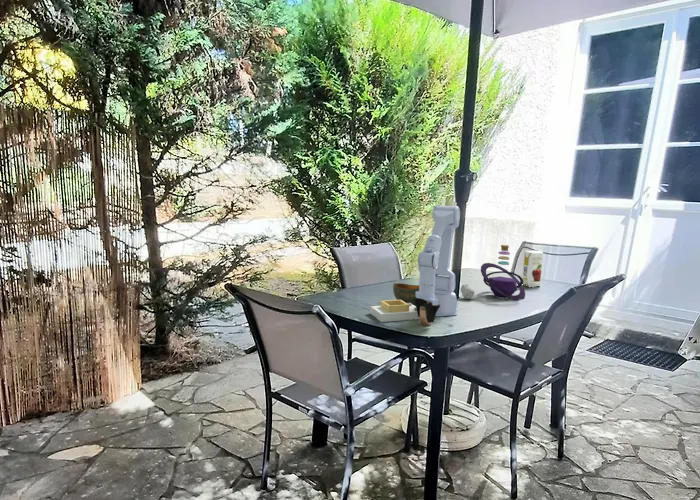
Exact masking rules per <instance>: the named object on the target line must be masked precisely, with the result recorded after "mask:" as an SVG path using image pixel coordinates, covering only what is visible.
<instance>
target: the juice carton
mask: <svg viewBox="0 0 700 500" xmlns="http://www.w3.org/2000/svg"><path fill="white" fill-rule="evenodd" d="M543 258H544V251H540V250H524V254H523V265H522V276H521V278H522V279H523V285H527V286H540V287H541V285H542V273H543ZM523 285H522V286H523Z"/></svg>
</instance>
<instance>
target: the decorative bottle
mask: <svg viewBox="0 0 700 500" xmlns="http://www.w3.org/2000/svg"><path fill="white" fill-rule="evenodd" d="M500 247H501V248H500V250H501V251H498V254H499V255H502V256H498V257H497V259H498V260H500V261H498V262H497V264H498V265H497V264H496V263H490V262H485V263H482V265H481V266H480V273H481V275H482V278H483V282H484V284H485V285H486V286H488V287H489V289H490V291H491V292H492V294H493V295H494V297H496V298H499V297H500V299H501V298H502V299H507V298H508V299H511V300H514V301H520V300H519V299H522V300H523V299H525V297H526V291H525V288H524V286H523V285H522V284H523V279H522V276H520V275H519V274H517V273H514V272H510V271H508V270H507V269H506V268H504V267H502V266H509V265H510V262H509V260H510V257H509V256H510V254H511V253H510V251H509V245H508V244H501V245H500ZM500 265H502V266H500ZM489 268H493V269H494V268H495V269H498V270H499V271H492V272H490V273H487V270H488V269H489ZM495 274H507V275H508V276H509V277H507V276H494V275H495ZM491 275H492V277H489V276H491ZM518 279H519V280H518ZM518 288H519V293H518V294H517V295H515V292H517V291H518Z"/></svg>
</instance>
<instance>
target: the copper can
mask: <svg viewBox="0 0 700 500" xmlns="http://www.w3.org/2000/svg"><path fill="white" fill-rule="evenodd" d="M421 325H422V327H431V326H432V323H428V322H427V314H426V309H425V306H424V305H421V306H420V319H419V326H421Z"/></svg>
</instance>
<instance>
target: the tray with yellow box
mask: <svg viewBox="0 0 700 500" xmlns="http://www.w3.org/2000/svg"><path fill="white" fill-rule="evenodd" d="M370 314H371V316H373V317H374V318H376V319H377V321H379V322H381V323H383V322H385V323H386V322H396V321H411V320H412V321H413V319H414V320H420V317H418V313H417V308H416V306H414V305H412V303H405V302H404V301H402V300H397V299H389V300H380V305H376V306H375V305H371V306H370Z"/></svg>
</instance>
